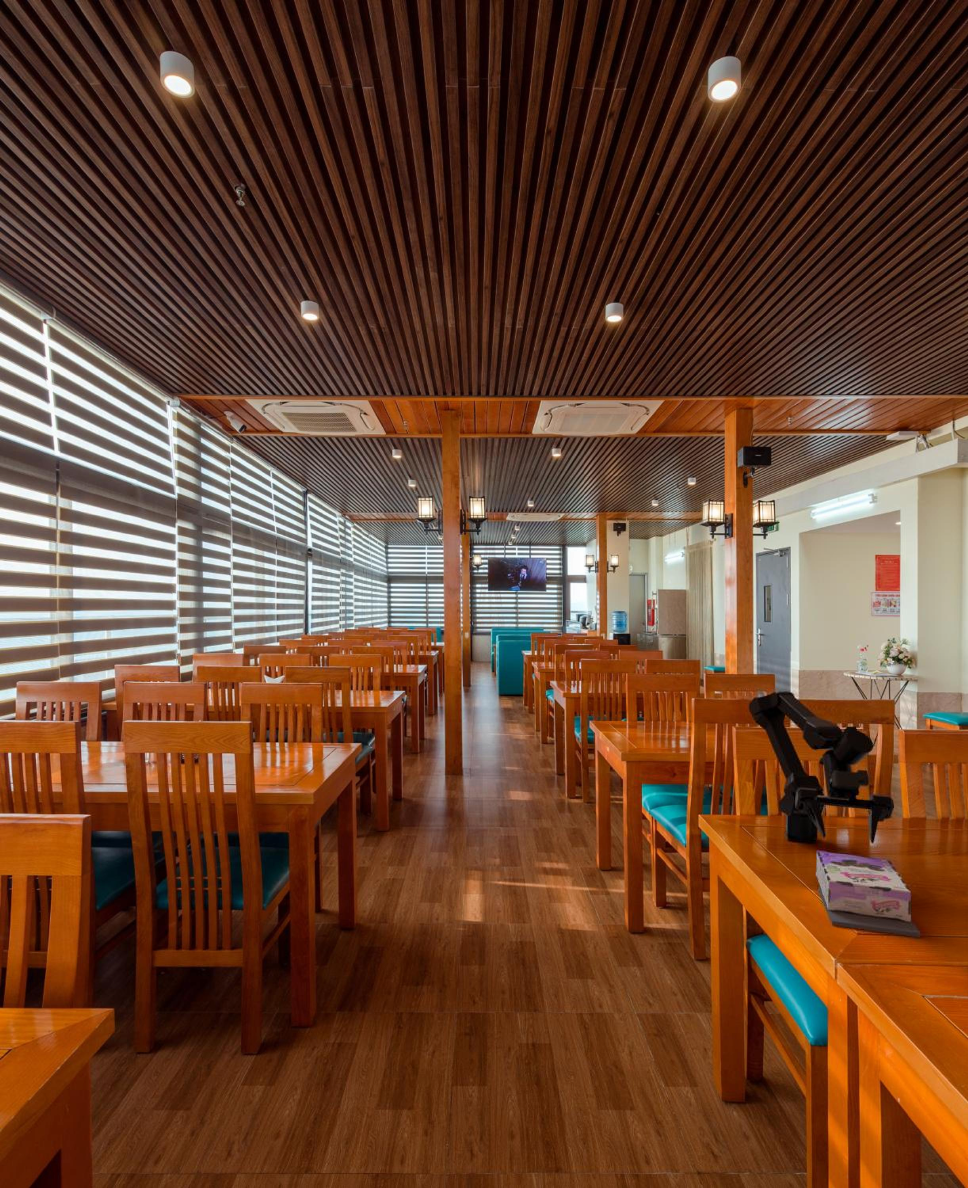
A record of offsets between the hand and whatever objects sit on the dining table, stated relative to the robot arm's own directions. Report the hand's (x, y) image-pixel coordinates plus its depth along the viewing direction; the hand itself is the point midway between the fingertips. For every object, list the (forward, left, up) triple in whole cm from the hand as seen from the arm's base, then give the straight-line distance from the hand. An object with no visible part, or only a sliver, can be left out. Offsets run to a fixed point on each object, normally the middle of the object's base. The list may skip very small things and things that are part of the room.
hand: (848, 839), depth 142 cm
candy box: (0, -2, -5) cm, 6 cm away
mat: (0, -15, -9) cm, 17 cm away
